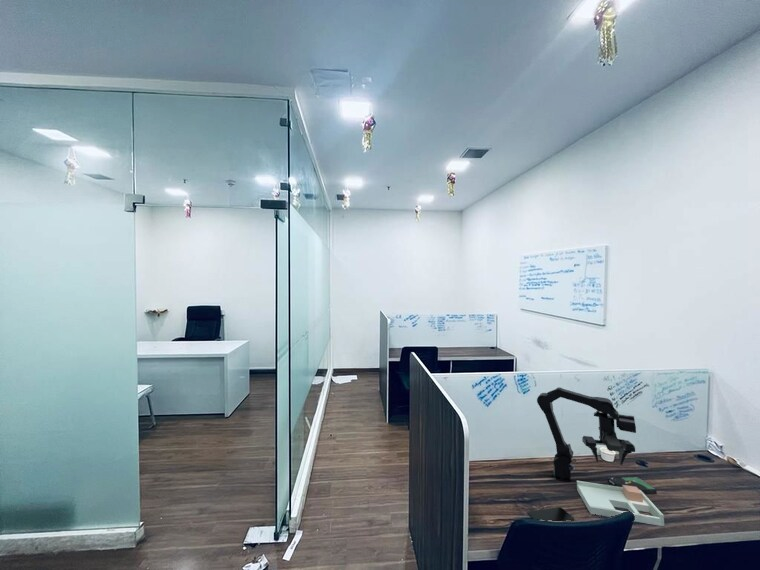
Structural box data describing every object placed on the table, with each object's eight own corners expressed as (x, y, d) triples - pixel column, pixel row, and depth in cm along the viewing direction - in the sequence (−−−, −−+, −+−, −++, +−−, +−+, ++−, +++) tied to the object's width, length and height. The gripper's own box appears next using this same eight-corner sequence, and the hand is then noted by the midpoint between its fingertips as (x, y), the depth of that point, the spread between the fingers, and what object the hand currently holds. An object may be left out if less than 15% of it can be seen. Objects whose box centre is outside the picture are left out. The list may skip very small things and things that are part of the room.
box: (590, 513, 122) (590, 503, 123) (577, 489, 139) (576, 480, 139) (664, 526, 115) (663, 515, 116) (641, 499, 131) (640, 489, 132)
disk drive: (625, 496, 135) (657, 495, 135) (624, 489, 135) (657, 488, 135) (606, 483, 145) (637, 482, 146) (606, 476, 145) (636, 475, 146)
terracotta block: (628, 500, 127) (627, 491, 127) (622, 493, 132) (622, 484, 132) (643, 502, 126) (642, 493, 126) (636, 495, 130) (636, 486, 131)
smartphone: (560, 508, 126) (526, 513, 123) (560, 506, 126) (525, 511, 123) (576, 521, 118) (539, 527, 115) (576, 519, 118) (539, 524, 115)
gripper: (589, 431, 135) (591, 468, 134) (640, 437, 129) (643, 475, 128) (581, 422, 146) (582, 457, 144) (628, 427, 140) (630, 463, 139)
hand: (608, 463), depth 139 cm, fingers open, 9 cm apart
